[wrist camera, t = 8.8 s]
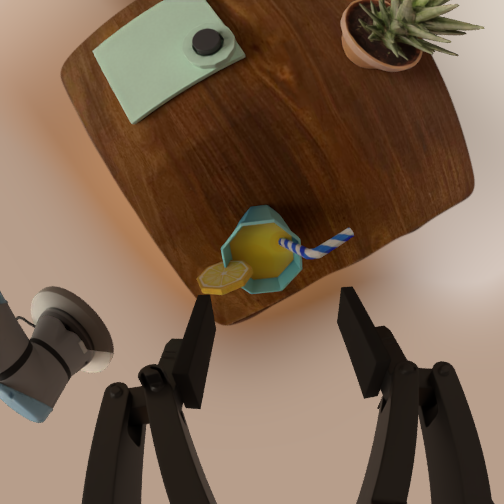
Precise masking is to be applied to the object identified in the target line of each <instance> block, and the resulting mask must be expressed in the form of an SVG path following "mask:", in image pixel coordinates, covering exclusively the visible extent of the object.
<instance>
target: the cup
mask: <svg viewBox="0 0 504 504" xmlns="http://www.w3.org/2000/svg"><path fill="white" fill-rule="evenodd" d="M353 236H354V233H353V231H352V230H351V229H350V228H347V229H345V230H344V231H342V232H341V233H339V234H337V235H336V236H334V237H332V238H331V239H329V240H328V241H326V242H324V243H323V244H321V245H319V246H318V247H316V248H313V249H308V248H306V247H304V246H301V241H300V238H299V237H298V236H297V235H295V234H294V233H293V232H292V231H291V230H290V229H289V227H288V226H287V224H286V223H285V221H284V220H283V219H282V217H281V216H280V214H278V213H277V212H276V211H274V210H273V209H272V208H271V207H269V206H268V205H261V206H253V207H250V208H249V209H248V211H247V212H246V213H245V214H244V216H243V217H242V218H241V220H240V221H239V223H238V225H237V227H236V229H235V230H234V232H233V233H232V234H231V236H230V237H229V238H228V239H227V241H226V242H225V243H224V245H223V246H222V247H221V253H222V258H223V261H222V262H219V263H217V264H214V265H211V266H209V267H207V268H206V269H205V270H204V271H203V272H202V273H201V274H200V275H199V276H198V277H197V278H196V279H197V281H198V284H199V286H200V288H201V290H202V292H203V293H204V294H217V295H223V294H226V293H228V292H231V291H233V290H236V289H238V288H243V289H244V290H246V291H247V292H249V293H250V294H258V293H267V292H276V291H282V290H283V289H284V288H285V287H286V286H287V285H288V284H289V283H290V282H291V281H292V280H293V279H294V277H295V276H296V275H297V274H298V273H299V272H300V271H301V270H302V257H303V258H305V259H316V258H321V257H323V256H324V255H326V254H327V253H329V252H330V251H332V250H334V249H335V248H337V247H338V246H340V245H341V244H343V243H344V242H346V241H347V240H349V239H350V238H352V237H353Z"/></svg>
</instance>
